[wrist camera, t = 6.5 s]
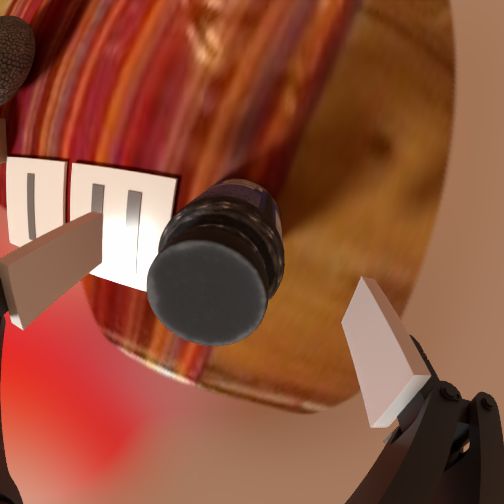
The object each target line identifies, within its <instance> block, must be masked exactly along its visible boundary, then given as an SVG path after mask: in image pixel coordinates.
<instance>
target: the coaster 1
mask: <svg viewBox="0 0 504 504" xmlns="http://www.w3.org/2000/svg"><path fill="white" fill-rule="evenodd" d="M66 176H67V161H58V160H49V159H38V158H27V157H14V156H8V157H7V171H6V195H7V215H8V228H9V238H10V243H12V244H14V245H17V246H19V247H21V246H23V245H25V244H27V243H29V242H30V241H32V240H34V239H36V238H38V237H40V236H42V235H44V234H46V233H48V232H50V231H52V230H54V229H56V228H58V227H60V226H62V225H64V224H66V222H65V202H66Z"/></svg>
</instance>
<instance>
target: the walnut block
mask: <svg viewBox="0 0 504 504" xmlns="http://www.w3.org/2000/svg"><path fill="white" fill-rule="evenodd" d="M7 157H8V154H7V141H6V118H4V119H0V165H1V164H3V163H4V162H6V161H7Z"/></svg>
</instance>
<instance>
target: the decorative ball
mask: <svg viewBox="0 0 504 504" xmlns="http://www.w3.org/2000/svg"><path fill="white" fill-rule="evenodd" d="M35 49H36V44H35V37H34V33H33V31H32V29H31V27H30V26H29V24H28V23H27V22H25V21H24V20H23V19H21V18H18V17H15V16H0V106H1V105H2V104H4V103H5V102H6V101H8V100H9V99H10V98H11V97H12V96H13V95H14V94H15V93H16V92H17V91H18V89H19V88H20V87H21V85H22V84H23V83H24V81H25V79H26V78H27V76H28V74H29V72H30V70H31V67H32V64H33V61H34V57H35Z"/></svg>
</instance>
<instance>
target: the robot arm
mask: <svg viewBox="0 0 504 504" xmlns="http://www.w3.org/2000/svg"><path fill="white" fill-rule="evenodd" d="M102 262H103V214H102V213H97V212H93V211H92V212H89V213H87V214H85V215H83V216H81V217H78V218H76V219H74V220H72V221H70V222H68V223H66V224H64V225H62V226H60V227H58V228H56V229H54V230H52V231H50V232H48V233H46V234H44V235H42V236H40V237H38V238H36V239H34V240H32V241H30V242H29V243H27V244H25V245H23V246H21V247H20V248H18V249H16V250H14V251H12V252H11V253H9V254H7V255H6V256H4V257H2V258H0V377H1V358H2V348H3V337H4V330H5V323H6V322H5V317H4V314H5V313H6V312H7V311H9V314H10V318H11V321H12V323H13V324H15V325H16V326H18V327H19V328H21V329H22V330H24V329H25V328H26V327H27V326H28V325H29V324H30V323H31V322H32V321H33V320H35V319H36V318H37V317H38V316H39V315H40V314H41V313H42V312H43V311H45V310H46V309H47V308H48V307H49V306H50V305H51V304H53V303H54V302H55V301H56V300H57V299H58V298H59V297H61V296H62V295H63V294H64V293H65V292H66V291H68V290H69V289H70V288H71V287H73V286H74V285H75V284H76V283H77V282H78V281H80V280H81V279H82V278H83V277H85V276H86V275H87V274H88V273H90V272H91V271H92V270H93V269H95V268H96V267H97V266H99V265H100V264H101V263H102ZM341 323H342V326H343V329H344V332H345V336H346V339H347V342H348V345H349V349H350V352H351V356H352V359H353V363H354V366H355V370H356V373H357V377H358V380H359V384H360V388H361V392H362V395H363V399H364V403H365V407H366V411H367V415H368V419H369V423H370V427H388V426H389V425H390V424H391V423H392V422H393V421H394V420H395V419H396V418H398V421H399V426H398V427H397V428H396V429H395V430H394V431H393V432H392V433H391V434H390V435H389V436H388V437H387V438H386V439H385V440H384V441H383V442H384V443H385V442H386V441H388V442H387V444H386V446H385V447H384V449H383V451H382V452H381V454H380V455H379V457H378V459H377V460H376V462H375V463H374V465H373V466H372V468H371V469H370V471H369V472H368V474H367V475H366V477H365V478H364V479H363V481H362V482H361V483H360V485H359V486H358V488H357V489H356V490H355V491H354V493H353V494H352V495H351V497H350V498H349V499H348V500H347V502H346V503H345V504H504V443H503V435H502V427H501V421H500V415H499V410H498V406H497V403H496V402H495V400H494V398H493V397H491V395H490V394H487V393H485V392H479V393H478V394H477V395H476V396H475V397H474V398H473V399H472V401H469V400H465V399H462V397H461V395H460V392H459V391H458V390H457V388H456V387H454V386H453V385H452V384H451V383H448V382H446V381H440V380H439V378H438V377H437V374H436V373H435V371H434V369H433V367H432V365H431V364H430V362H429V360H427V356H426V355H425V353H423V349H422V347H421V346H420V344H419V343H418V342H417V341H416V339H414V337H412V336H411V335H409V334H408V332H407V330H406V329H405V327H404V325H403V324H402V322H401V320H400V319H399V317H398V315H397V314H396V312H395V310H394V309H393V307H392V305H391V304H390V302H389V301H388V299H387V297H386V296H385V294H384V293H383V291H382V290H381V288H380V287H379V285H378V283H377V282H376V280H375V279H371V278H367V277H363V276H361V278H360V281H359V283H358V286H357V288H356V290H355V293H354V295H353V297H352V300H351V302H350V304H349V306H348V309H347V311H346V313H345V315H344V317H343V320H342V322H341ZM0 380H1V378H0ZM469 442H470V446H469V449H468V450H467V451H466V452H463V447H464V446H465V445H466V444H467V443H469ZM0 504H23V502H22V498H21V496H20V493H19V491H18V488H17V486H16V485H15V483H14V481H13V480H12V478H11V476H10V474H9V472H8V468H7V463H6V457H5V450H4V443H3V434H2V423H1V404H0Z"/></svg>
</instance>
